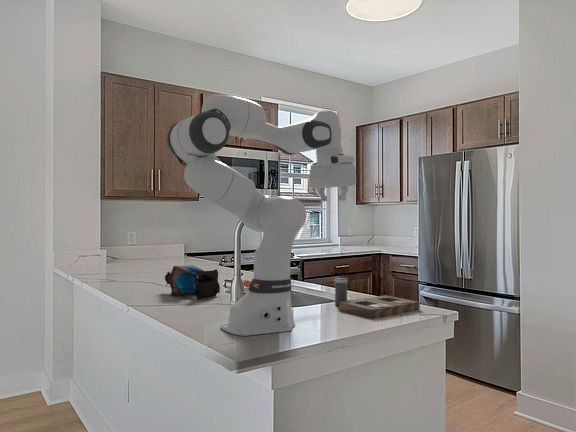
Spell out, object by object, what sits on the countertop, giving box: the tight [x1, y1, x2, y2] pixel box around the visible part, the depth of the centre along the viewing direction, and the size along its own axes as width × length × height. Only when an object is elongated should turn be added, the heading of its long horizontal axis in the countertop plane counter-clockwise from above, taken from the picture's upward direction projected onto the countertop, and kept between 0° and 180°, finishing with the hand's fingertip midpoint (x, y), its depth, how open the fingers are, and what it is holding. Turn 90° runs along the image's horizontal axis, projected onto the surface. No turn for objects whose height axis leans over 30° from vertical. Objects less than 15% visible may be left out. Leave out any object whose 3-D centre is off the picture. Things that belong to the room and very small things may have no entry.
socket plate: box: [338, 294, 421, 320], centre depth 160 cm, size 24×16×3 cm, turn 126°
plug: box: [334, 277, 348, 308], centre depth 168 cm, size 5×5×10 cm
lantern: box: [164, 265, 221, 300], centre depth 186 cm, size 16×16×25 cm
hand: (333, 200), depth 153 cm, fingers open, 8 cm apart
